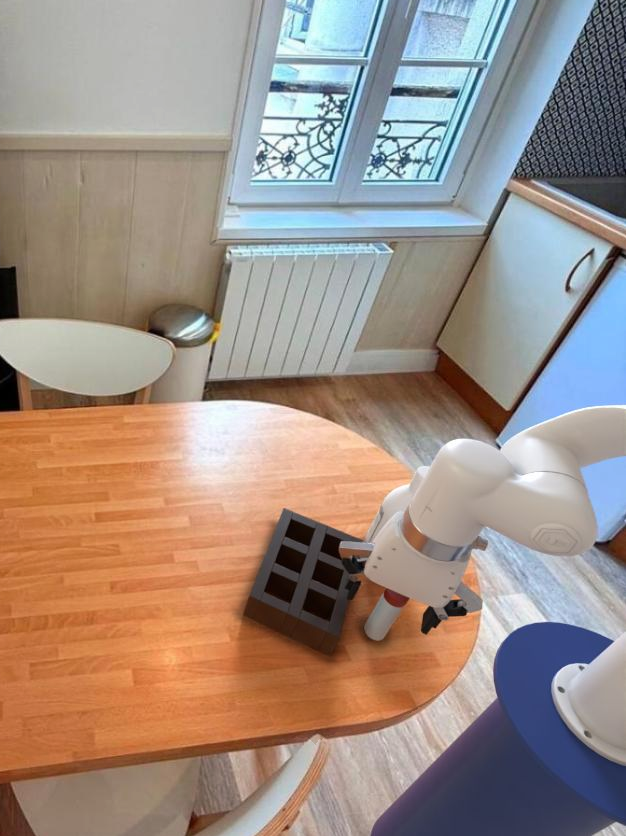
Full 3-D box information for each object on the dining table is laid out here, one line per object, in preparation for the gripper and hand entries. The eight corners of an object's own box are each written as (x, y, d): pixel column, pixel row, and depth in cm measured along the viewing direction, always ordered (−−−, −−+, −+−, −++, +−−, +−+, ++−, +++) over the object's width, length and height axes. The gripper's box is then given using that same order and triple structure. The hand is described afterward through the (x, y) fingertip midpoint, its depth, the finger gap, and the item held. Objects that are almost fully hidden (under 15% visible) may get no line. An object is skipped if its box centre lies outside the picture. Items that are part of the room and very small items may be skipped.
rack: (354, 559, 96) (363, 540, 92) (329, 656, 83) (339, 637, 80) (276, 527, 100) (283, 507, 97) (242, 614, 87) (249, 595, 84)
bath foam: (414, 572, 94) (468, 485, 82) (378, 585, 92) (427, 498, 80) (384, 537, 99) (430, 450, 87) (349, 548, 97) (391, 461, 85)
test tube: (386, 627, 87) (411, 588, 80) (383, 644, 85) (408, 605, 78) (365, 618, 88) (388, 578, 81) (361, 635, 86) (385, 595, 79)
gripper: (517, 537, 71) (457, 615, 82) (366, 480, 77) (328, 560, 88) (517, 587, 66) (453, 663, 77) (355, 521, 72) (316, 600, 83)
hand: (386, 608), depth 83 cm, fingers open, 9 cm apart
